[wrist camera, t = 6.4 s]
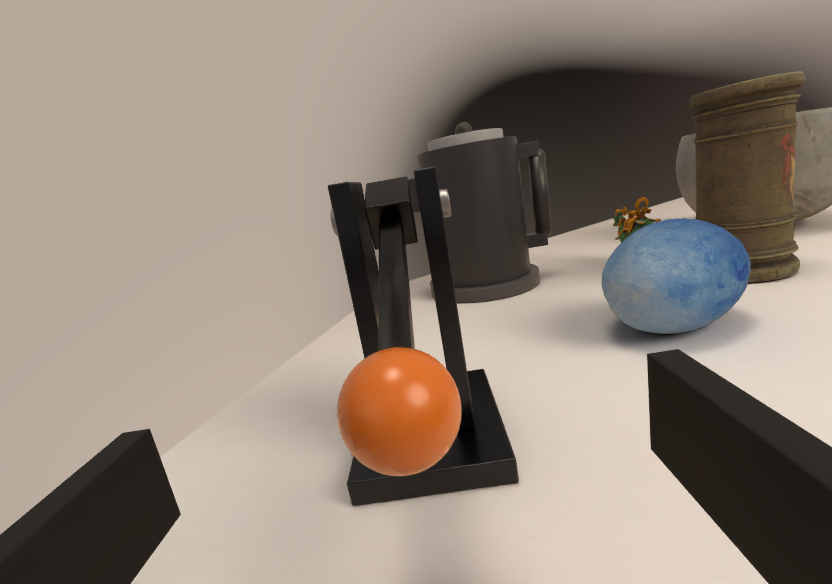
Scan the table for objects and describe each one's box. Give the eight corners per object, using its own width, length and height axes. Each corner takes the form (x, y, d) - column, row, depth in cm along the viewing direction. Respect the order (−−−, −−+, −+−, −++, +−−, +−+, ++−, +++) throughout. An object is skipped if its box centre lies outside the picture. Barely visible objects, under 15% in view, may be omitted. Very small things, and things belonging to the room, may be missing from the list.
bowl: (910, 221, 51) (925, 88, 48) (728, 247, 54) (729, 122, 50) (782, 209, 71) (786, 114, 67) (653, 229, 73) (650, 138, 70)
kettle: (425, 311, 49) (393, 126, 44) (423, 284, 63) (399, 140, 58) (574, 287, 48) (559, 96, 43) (540, 264, 62) (525, 117, 57)
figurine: (626, 253, 60) (624, 195, 58) (688, 268, 48) (687, 195, 46) (605, 257, 59) (602, 199, 57) (662, 273, 48) (660, 200, 46)
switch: (475, 490, 12) (465, 417, 10) (351, 507, 12) (313, 439, 10) (428, 223, 24) (418, 162, 22) (365, 234, 24) (349, 174, 22)
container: (727, 289, 40) (728, 81, 35) (672, 270, 48) (667, 102, 44) (827, 273, 39) (841, 61, 35) (753, 257, 48) (756, 86, 43)
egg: (762, 176, 33) (648, 218, 27) (816, 276, 32) (712, 345, 26) (663, 223, 41) (556, 264, 34) (705, 304, 40) (603, 363, 33)
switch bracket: (519, 482, 20) (476, 156, 16) (351, 506, 20) (274, 191, 17) (486, 385, 30) (455, 167, 26) (373, 402, 30) (327, 189, 26)
